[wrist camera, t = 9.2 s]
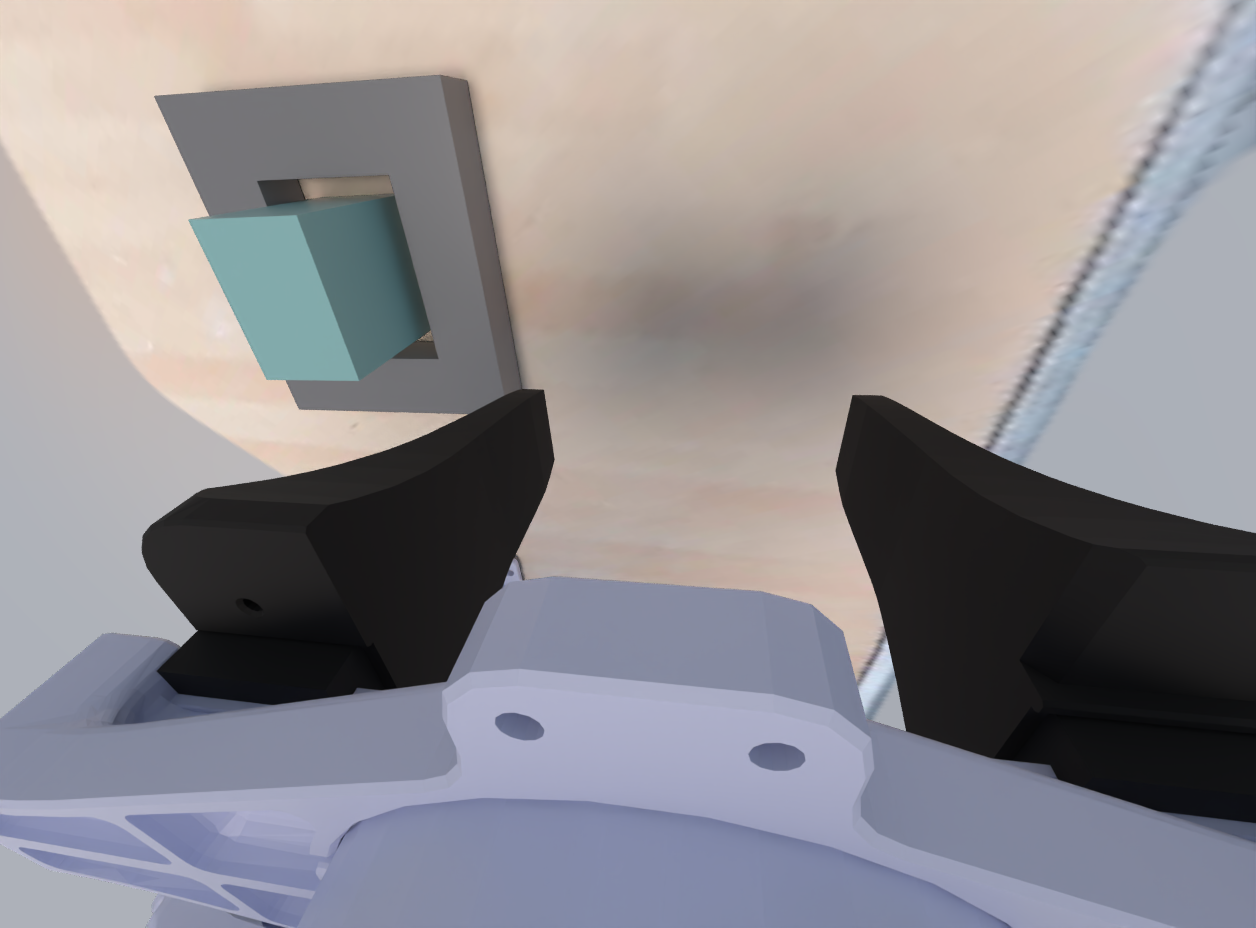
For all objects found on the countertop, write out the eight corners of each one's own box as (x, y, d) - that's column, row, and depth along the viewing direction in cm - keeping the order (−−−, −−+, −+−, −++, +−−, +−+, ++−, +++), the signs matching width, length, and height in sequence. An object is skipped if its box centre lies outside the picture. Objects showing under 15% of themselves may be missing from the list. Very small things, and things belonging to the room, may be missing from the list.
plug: (439, 323, 21) (359, 380, 17) (366, 324, 22) (266, 379, 17) (405, 193, 19) (296, 215, 14) (322, 197, 19) (188, 219, 14)
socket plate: (522, 394, 23) (508, 415, 21) (327, 390, 24) (299, 409, 22) (466, 80, 16) (439, 74, 15) (205, 99, 18) (153, 96, 16)
